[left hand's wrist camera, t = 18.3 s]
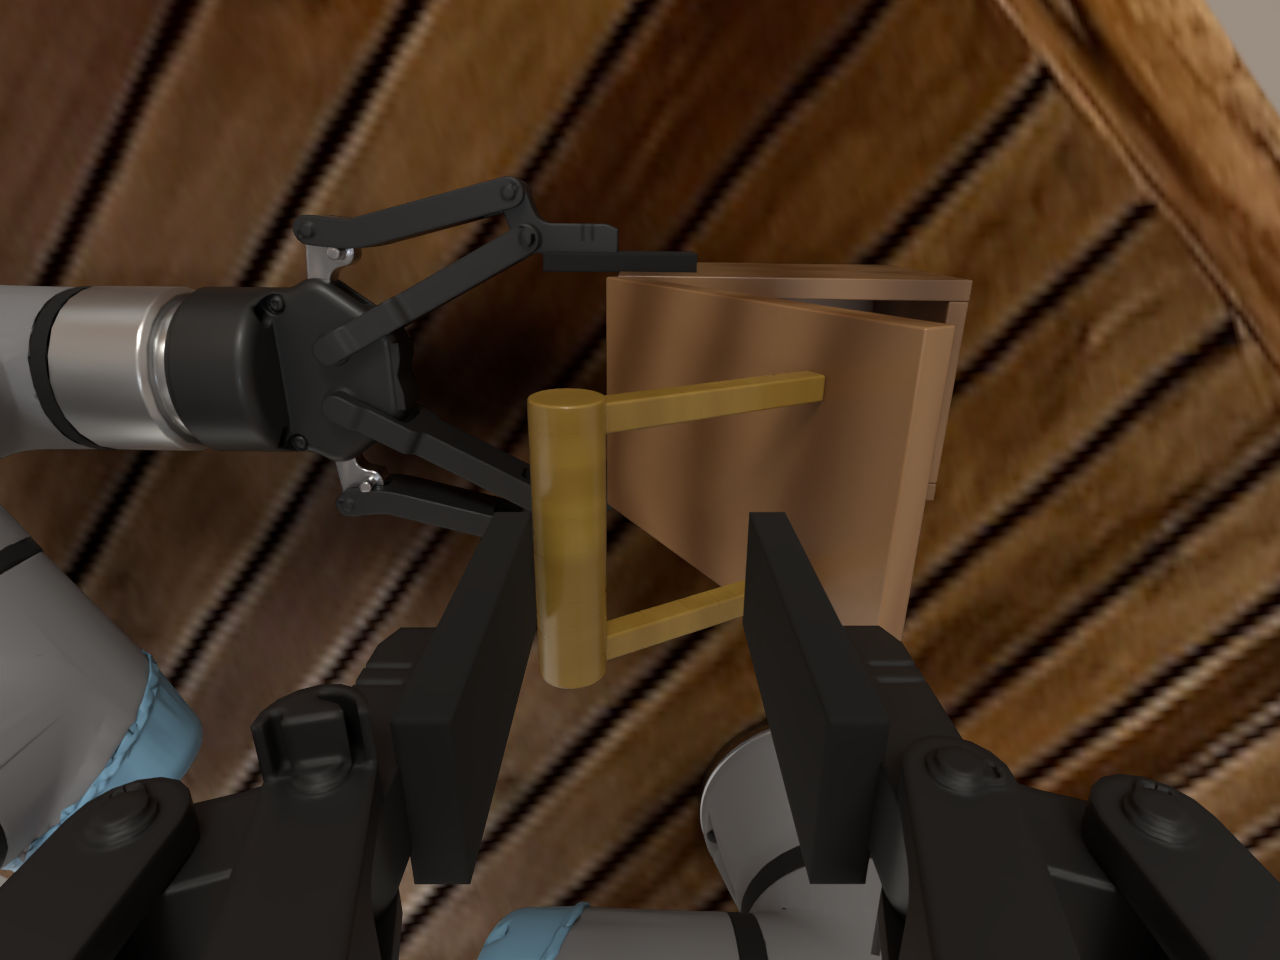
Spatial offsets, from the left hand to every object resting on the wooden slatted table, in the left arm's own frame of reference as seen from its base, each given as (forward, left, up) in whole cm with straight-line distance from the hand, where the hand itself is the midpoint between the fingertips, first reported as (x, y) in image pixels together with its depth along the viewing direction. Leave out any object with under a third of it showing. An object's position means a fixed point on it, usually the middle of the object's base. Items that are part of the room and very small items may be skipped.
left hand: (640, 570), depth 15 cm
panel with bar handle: (+2, -2, -8) cm, 9 cm away
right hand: (+2, -2, -19) cm, 19 cm away
